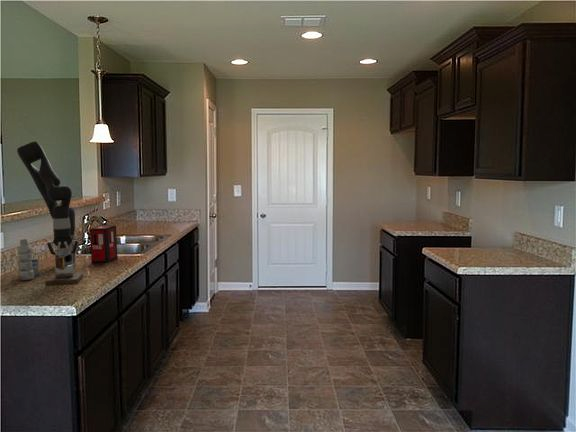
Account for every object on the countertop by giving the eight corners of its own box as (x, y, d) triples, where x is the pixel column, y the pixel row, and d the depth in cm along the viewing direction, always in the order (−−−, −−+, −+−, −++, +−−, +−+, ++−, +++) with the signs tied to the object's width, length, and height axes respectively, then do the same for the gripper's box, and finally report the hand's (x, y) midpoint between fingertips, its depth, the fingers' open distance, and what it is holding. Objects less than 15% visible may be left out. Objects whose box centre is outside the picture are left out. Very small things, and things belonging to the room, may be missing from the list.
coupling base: (52, 278, 245) (52, 274, 245) (82, 277, 248) (82, 272, 248) (45, 285, 231) (45, 280, 231) (77, 283, 234) (77, 278, 234)
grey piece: (68, 278, 235) (67, 257, 234) (51, 278, 234) (50, 257, 233) (76, 273, 245) (75, 253, 244) (60, 273, 244) (59, 253, 243)
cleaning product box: (102, 258, 299) (101, 225, 297) (117, 258, 299) (115, 225, 297) (91, 263, 283) (89, 229, 281) (107, 263, 283) (105, 228, 281)
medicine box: (24, 278, 246) (23, 261, 245) (19, 277, 249) (17, 260, 248) (39, 275, 253) (38, 259, 252) (34, 274, 255) (33, 258, 254)
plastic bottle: (20, 279, 245) (17, 239, 243) (35, 278, 247) (32, 238, 245) (18, 282, 239) (15, 241, 237) (33, 280, 241) (31, 240, 239)
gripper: (44, 229, 231) (47, 265, 233) (77, 227, 236) (79, 262, 238) (46, 227, 238) (48, 262, 240) (78, 225, 243) (80, 259, 245)
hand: (64, 262), depth 239 cm, fingers closed on grey piece, 4 cm apart
